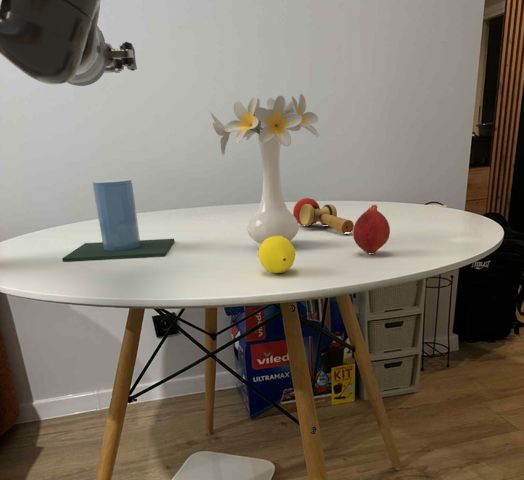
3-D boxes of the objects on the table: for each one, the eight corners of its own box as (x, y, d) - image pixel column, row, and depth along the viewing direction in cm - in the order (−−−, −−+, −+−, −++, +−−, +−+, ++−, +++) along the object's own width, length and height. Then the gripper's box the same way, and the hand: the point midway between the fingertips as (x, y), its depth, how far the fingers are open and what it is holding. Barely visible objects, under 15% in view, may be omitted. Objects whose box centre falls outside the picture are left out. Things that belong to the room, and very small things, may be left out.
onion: (369, 260, 79) (371, 207, 76) (345, 254, 84) (346, 204, 81) (395, 254, 82) (399, 204, 79) (371, 249, 86) (373, 201, 83)
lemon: (254, 269, 77) (252, 233, 75) (288, 265, 78) (287, 230, 76) (265, 280, 70) (264, 242, 68) (302, 276, 72) (301, 238, 70)
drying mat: (62, 261, 88) (62, 258, 88) (85, 246, 101) (85, 243, 101) (164, 256, 89) (164, 252, 88) (174, 241, 101) (174, 238, 101)
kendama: (364, 238, 102) (315, 216, 116) (364, 208, 98) (313, 189, 112) (333, 250, 100) (286, 226, 113) (332, 219, 96) (283, 199, 110)
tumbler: (90, 181, 92) (101, 246, 97) (94, 183, 86) (106, 252, 91) (128, 178, 95) (137, 242, 99) (134, 180, 89) (143, 248, 93)
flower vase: (215, 245, 96) (203, 99, 86) (307, 237, 99) (305, 96, 90) (227, 259, 84) (215, 92, 74) (331, 249, 88) (332, 89, 78)
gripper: (15, 84, 59) (40, 95, 73) (138, 81, 61) (139, 92, 76) (-1, 8, 56) (29, 35, 70) (129, 8, 58) (132, 34, 73)
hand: (86, 65), depth 73 cm, fingers open, 8 cm apart
